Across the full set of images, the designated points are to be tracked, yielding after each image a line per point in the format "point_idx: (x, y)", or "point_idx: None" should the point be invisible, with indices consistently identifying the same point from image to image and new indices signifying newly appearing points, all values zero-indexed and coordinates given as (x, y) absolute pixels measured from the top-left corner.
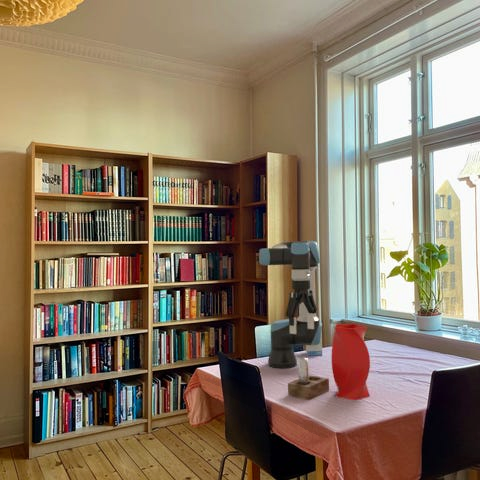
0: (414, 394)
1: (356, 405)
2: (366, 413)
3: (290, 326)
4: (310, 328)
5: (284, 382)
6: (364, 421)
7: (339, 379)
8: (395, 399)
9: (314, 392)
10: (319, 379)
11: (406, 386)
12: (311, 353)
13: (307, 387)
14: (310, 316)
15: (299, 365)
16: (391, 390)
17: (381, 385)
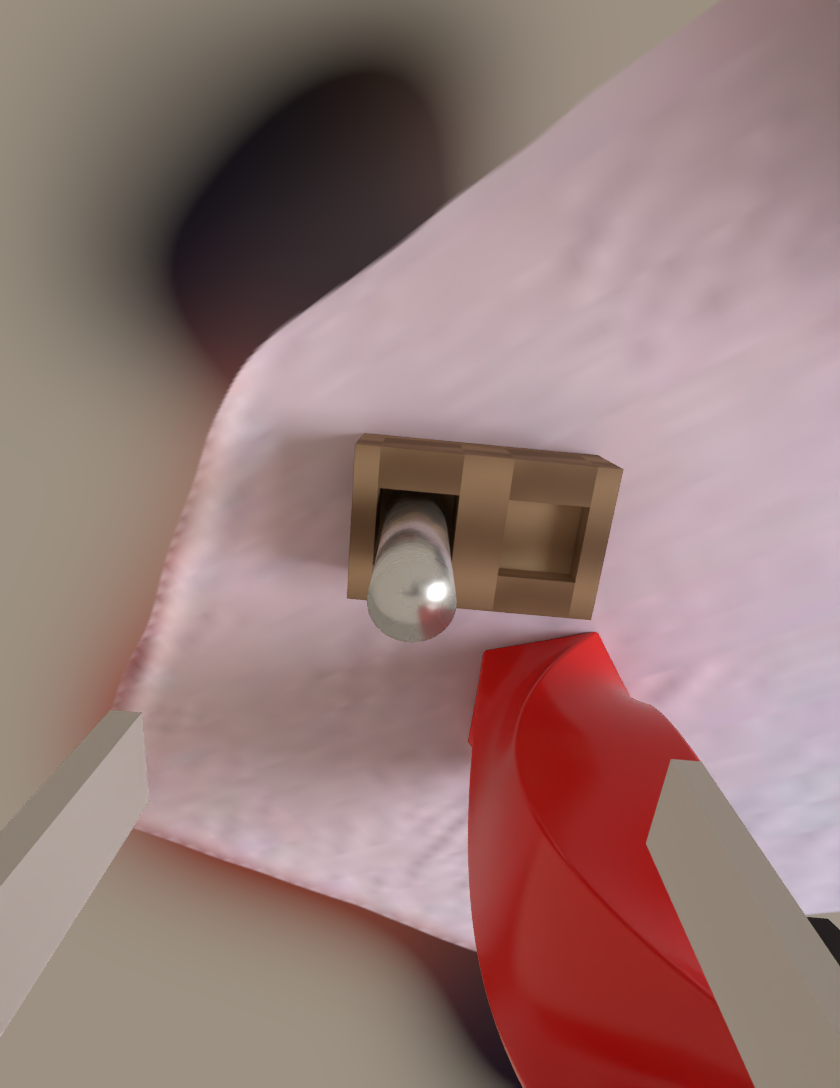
0: None
1: (402, 771)
2: (328, 827)
3: (29, 818)
4: (661, 809)
5: (623, 253)
6: (240, 845)
7: (502, 729)
8: None
9: None
10: (541, 581)
11: (794, 858)
12: None
13: (348, 587)
14: (785, 1068)
15: (377, 560)
16: None
17: (773, 771)
